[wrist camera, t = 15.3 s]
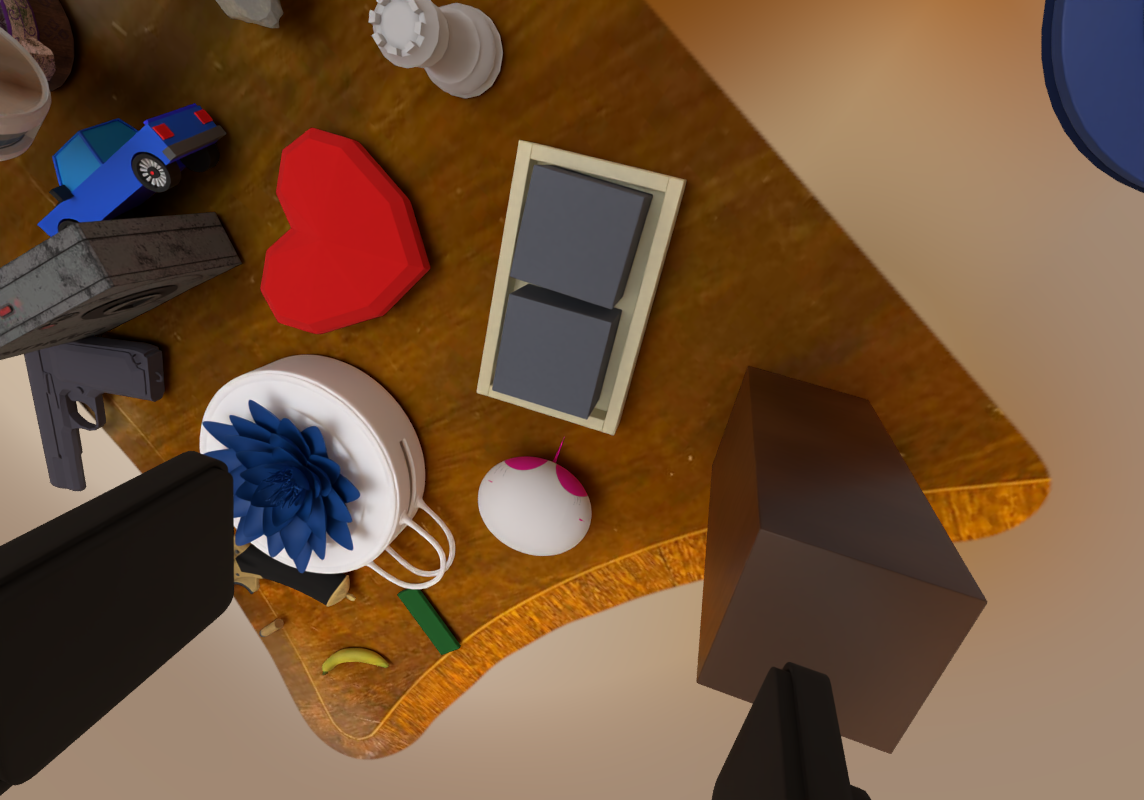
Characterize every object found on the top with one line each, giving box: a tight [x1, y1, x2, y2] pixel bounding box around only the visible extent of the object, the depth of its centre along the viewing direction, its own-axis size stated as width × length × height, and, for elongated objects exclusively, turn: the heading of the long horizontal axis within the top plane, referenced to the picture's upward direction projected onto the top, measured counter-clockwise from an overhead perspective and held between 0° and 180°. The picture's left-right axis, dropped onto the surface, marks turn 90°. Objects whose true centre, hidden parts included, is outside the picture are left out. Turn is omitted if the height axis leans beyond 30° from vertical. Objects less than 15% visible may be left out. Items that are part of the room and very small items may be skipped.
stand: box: [697, 366, 987, 754], centre depth 28 cm, size 7×7×18 cm
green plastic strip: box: [397, 589, 461, 655], centre depth 49 cm, size 6×1×2 cm
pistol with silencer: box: [234, 534, 356, 637], centre depth 52 cm, size 4×25×11 cm
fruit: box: [322, 648, 389, 675], centre depth 52 cm, size 7×1×3 cm
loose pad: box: [510, 165, 653, 309], centre depth 33 cm, size 6×6×4 cm
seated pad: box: [492, 284, 622, 420], centre depth 36 cm, size 6×6×4 cm
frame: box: [477, 140, 687, 435], centre depth 36 cm, size 9×15×2 cm, turn 167°
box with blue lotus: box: [200, 355, 455, 589], centre depth 42 cm, size 7×16×20 cm
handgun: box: [24, 336, 165, 491], centre depth 49 cm, size 18×2×12 cm
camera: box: [0, 212, 242, 360], centre depth 39 cm, size 16×4×10 cm, turn 113°
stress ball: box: [478, 439, 592, 556], centre depth 40 cm, size 8×8×7 cm
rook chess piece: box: [369, 0, 503, 98], centre depth 30 cm, size 4×4×8 cm
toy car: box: [37, 103, 227, 237], centre depth 38 cm, size 7×12×5 cm
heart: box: [260, 128, 430, 334], centre depth 37 cm, size 12×4×10 cm
